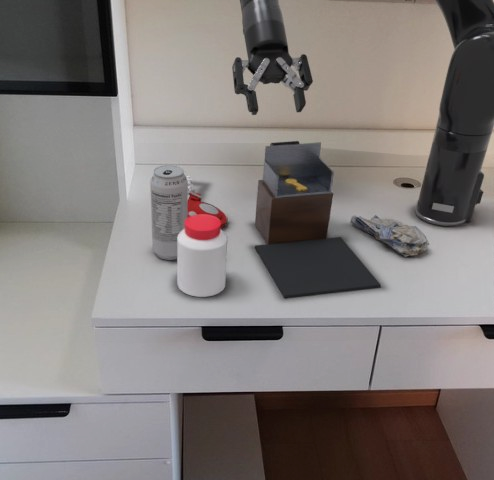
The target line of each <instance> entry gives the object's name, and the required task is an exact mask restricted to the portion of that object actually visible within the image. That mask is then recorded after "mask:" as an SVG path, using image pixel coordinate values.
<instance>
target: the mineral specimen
mask: <svg viewBox="0 0 494 480" xmlns="http://www.w3.org/2000/svg"><path fill="white" fill-rule="evenodd" d="M349 223H350V224H352V225H354V226H355V227H358V228H359V229H361V230H362V231H365V232H366V233H368V234H370V235H372V236H373V237H375V238H374V239H375V240H377V241H380V242H383V243H384V244H385V245H388V246H389V247H390V248H391V249H393V250H395V252H397V253H399V254H400V255H402V256H403V257H412V256H417V255H419V254H420V253H423V252H425V251H426V250H428V247H429V246H430V242H429V240H428V239H427V236H426V235H425V234H424V232H423V231H421V229H420V228H418V227H417V226H416V225H408V224H404V223H402V221H398V220H390V219H382V218H380V217H379V216H378V215H373V217H371V218H370V219H367V218H365V217H362V216H357V215H352V216H351V218H350V222H349Z"/></svg>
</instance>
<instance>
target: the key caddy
mask: <svg viewBox="0 0 494 480" xmlns="http://www.w3.org/2000/svg"><path fill="white" fill-rule="evenodd" d="M321 147H322V142H319V141H318V142H306V143H301V142H300V141H299V140H291V141H278V142H276V141H275V142H270V144H269V145H266V146H265V147H264V148H265V149H264V159H263V172H262V180H263V183H264V184H265V186H266V187H267V188H268V190H269V191H270V192H271V194H272V195H273V196H274V198H283V197H295V196H306V195H318V194H329V193H331V192H332V186H333V181H334V175H335V171H334V169H332V167H330V165H328V164H327V163H326V161H325V160H323V159H322V158H321V157H320V155H321ZM286 179H295V180H297V183H299V184H301V185H303V186H305V187H307V188H308V190H304V191H303V190H302V191H298V190H297V189H296V188H297V187H295V186H293V185H289V184H286V183H285V180H286Z"/></svg>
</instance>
